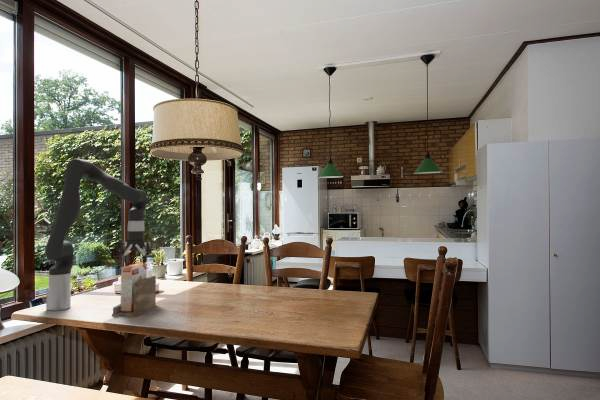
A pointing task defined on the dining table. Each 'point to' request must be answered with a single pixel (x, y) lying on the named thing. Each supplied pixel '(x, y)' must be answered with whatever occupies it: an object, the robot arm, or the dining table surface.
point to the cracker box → (130, 284)
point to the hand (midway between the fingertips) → (135, 263)
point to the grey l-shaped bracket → (140, 298)
